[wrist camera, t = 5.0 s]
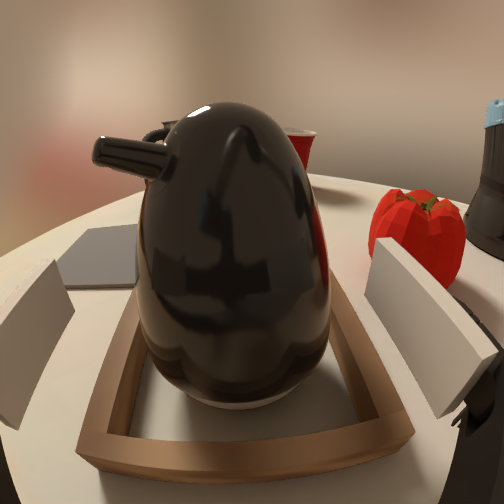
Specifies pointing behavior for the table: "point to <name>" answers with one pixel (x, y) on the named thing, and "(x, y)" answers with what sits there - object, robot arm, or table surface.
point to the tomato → (422, 230)
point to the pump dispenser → (227, 256)
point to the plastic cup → (301, 142)
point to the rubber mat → (101, 259)
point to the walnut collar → (244, 452)
